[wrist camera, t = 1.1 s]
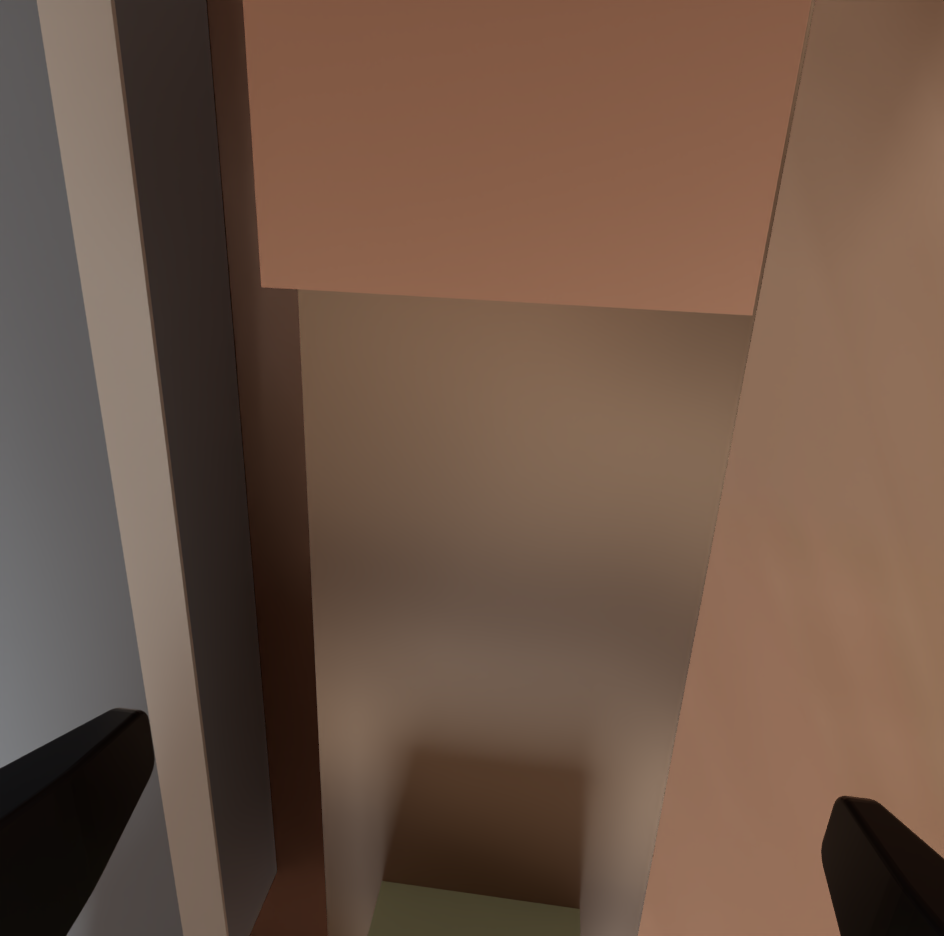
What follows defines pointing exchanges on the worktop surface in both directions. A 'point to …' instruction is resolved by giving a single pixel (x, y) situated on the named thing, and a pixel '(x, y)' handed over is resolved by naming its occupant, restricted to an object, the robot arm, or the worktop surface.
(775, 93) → the salmon brown cube
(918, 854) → the robot arm
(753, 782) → the worktop surface
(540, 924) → the block
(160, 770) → the dock
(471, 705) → the pallet
